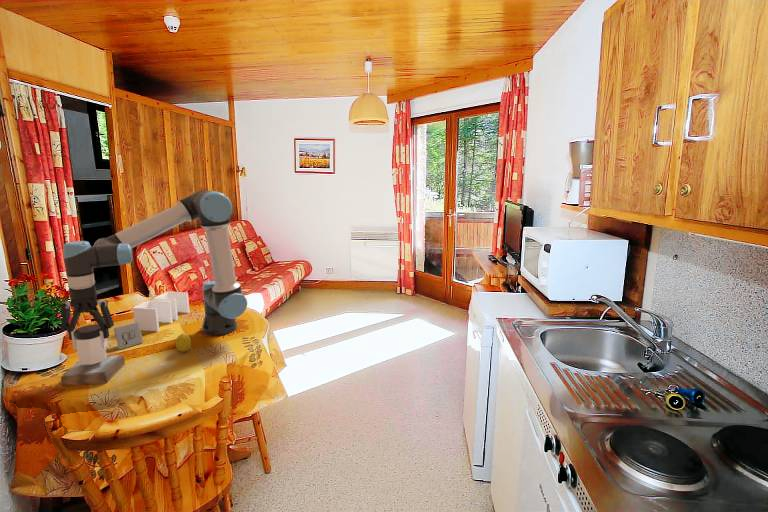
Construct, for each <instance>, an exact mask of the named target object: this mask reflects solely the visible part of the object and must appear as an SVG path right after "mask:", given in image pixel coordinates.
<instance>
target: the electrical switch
mask: <svg viewBox="0 0 768 512" xmlns="http://www.w3.org/2000/svg"><path fill="white" fill-rule="evenodd" d="M113 333H114V337H115V340H116V345H117V349H118V350H123V349H127V348H130V347H133V346H137V345H140V344H143V342H144V340H143V336H142V330H140V326H139V323H138V322H135V321H133V322H131V323H127V324H124V325H119V326H115V327H114V328H113Z"/></svg>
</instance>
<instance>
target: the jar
mask: <svg viewBox="0 0 768 512" xmlns="http://www.w3.org/2000/svg"><path fill="white" fill-rule="evenodd" d="M75 329H76V330H75ZM75 329H74V330H75V337H76V346H77V349H76V351H77V357H78V358H77V359H78V361H79V364H80V365H93V364H96V363H98V362H101V361H104V360H106V356H108V355H107V349H106V347H107V346H106V347H105V348H102V345H101V338H100V330H102V329H101V328H100V326H99V325H98V323H96V324H87V325H84V326H80V327H77V328H75Z"/></svg>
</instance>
